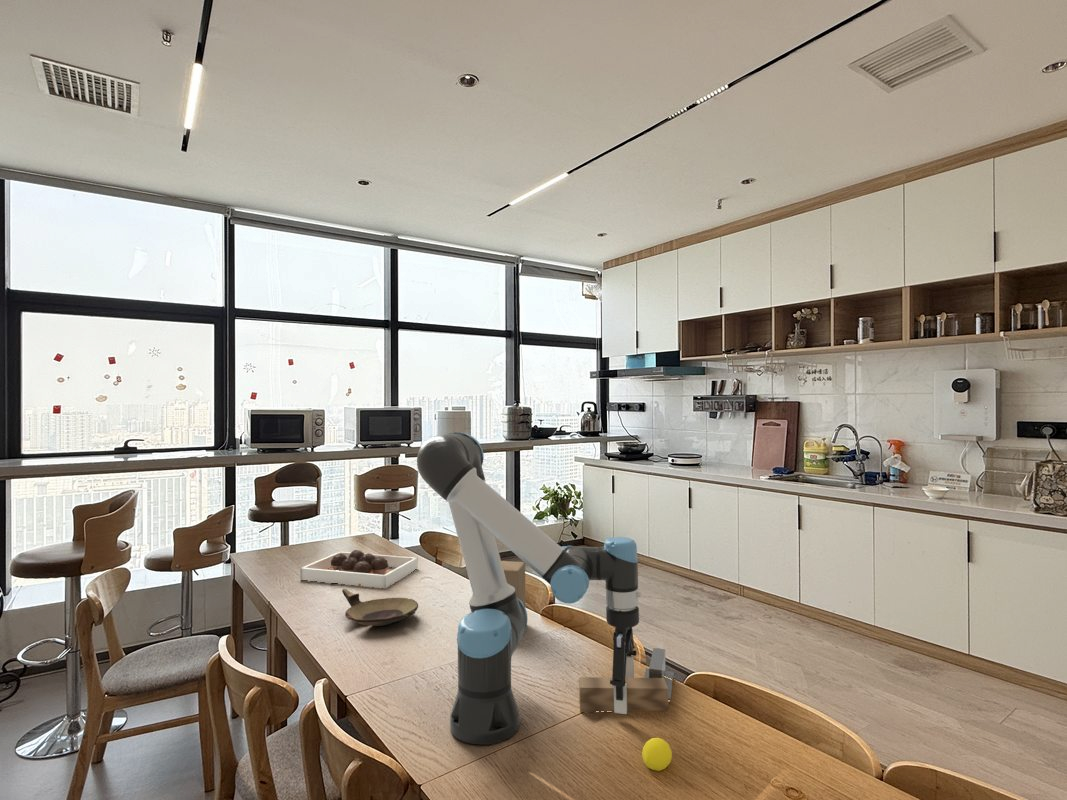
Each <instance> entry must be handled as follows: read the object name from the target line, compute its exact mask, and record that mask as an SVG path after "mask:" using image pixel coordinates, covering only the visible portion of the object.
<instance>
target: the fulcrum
mask: <svg viewBox="0 0 1067 800" xmlns="http://www.w3.org/2000/svg"><path fill="white" fill-rule="evenodd" d="M663 675H664V676H666V677H668V678H671V679H673V681H672V680H670V679H668V678H665V677H664V676H663ZM674 675H675V673H674V671H672V670H671V671H669V670H666V649H664V648H657V647H656V648H655V647H653V648H652V654H651V658H650V661H649V666H648V668H645V672H644V676H643V678H664V679H665V682H666V684H667V687H668V700H672V693H671V691H672V690H673V685H672V682H673V683H674ZM672 692H673V691H672Z"/></svg>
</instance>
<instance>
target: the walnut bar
mask: <svg viewBox="0 0 1067 800" xmlns="http://www.w3.org/2000/svg"><path fill="white" fill-rule="evenodd" d="M610 680H612V677H606V676H605V677H604V676H603V677H601V676H599V677H598V676H597V677H595V676H594V677H593V676H592V677H591V676H590V677H589V676H587V677H586V676H585V677H584V676H583V677H582V676H579V677H578V691H579V692H578V696H579V697H578V701H579V702H578V704H580V705H579V712H596V711H599V712H601V711H604V712H607V711H612V713H614V686H613V685H612V684H610ZM625 682H626V692H627V711H655V712H656V711H658V712H660V711H661V712H667V711H669V703H668V687H667V684H666V682H665V679H664V678H644V677H634V678H625Z"/></svg>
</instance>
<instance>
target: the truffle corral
mask: <svg viewBox="0 0 1067 800" xmlns="http://www.w3.org/2000/svg"><path fill="white" fill-rule="evenodd" d="M351 552H352V551H351ZM351 552H349V551H338V552H336V553H333V554H331V555H329V556H327V557H324V558H322V559H319V560H317V561H313V562H311V563H310V564H307V565H304V566H302V567H300V568H299V570H300V575H299V576H300V577H299V578H300V580H309V581H308V582H310V581H317V582H316V583H320V582H325V583H324V584H331V583H338V584H337V585H341V584H345V585H344V586H351V585H355V586H354V587H359V584H361V586H360V587H362V586H363V587H362V588H372V587H374V588H375V589H382V588H383V589H387V588H389V587H391V586H392V585H393V584H396V583H397V582H399V581H400V580H403V579H404V578H405V577H407V576H409V575H410V574H412V573H414V572H415V571H416V570H415V569H417V568H418V569H419V563H418V560H419V559H418V557H411V556H398V555H387V554H386V555H385V554H375V553H371V554H372V555H374V557H375V558H377V557H382V558H384V559H385V560H387V563H388V567H389V568H391V567H392V569H393V570H391V571H388V572H389V573H387V574H385V575H379V574H368V573H357V572H346V571H335V570H326V569H328V568H329V569H330V567H331V568H332V566H331V563H330V562H331V560H332V558H333V557H334V556H335V555H337V554H344V555H346V556H347V558H349V555H350V553H351ZM418 569H417V570H418ZM414 570H415V571H414ZM413 571H414V572H413ZM411 572H412V573H411ZM408 574H409V575H408ZM395 582H396V583H395ZM390 585H391V586H390ZM383 589H382V590H383Z"/></svg>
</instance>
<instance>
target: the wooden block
mask: <svg viewBox="0 0 1067 800" xmlns="http://www.w3.org/2000/svg"><path fill="white" fill-rule="evenodd" d="M501 563H502V567H503V570H504V574H505V578H506V581H507V583H508V584H509V585H511V586H513V587H514V588H515V591H516V594H517V598H518V599H520V600H521V601H522V603H523V604H524V606H525V607H526V563H525V562H524V561H511V560H509V561H508V560H501Z"/></svg>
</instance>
